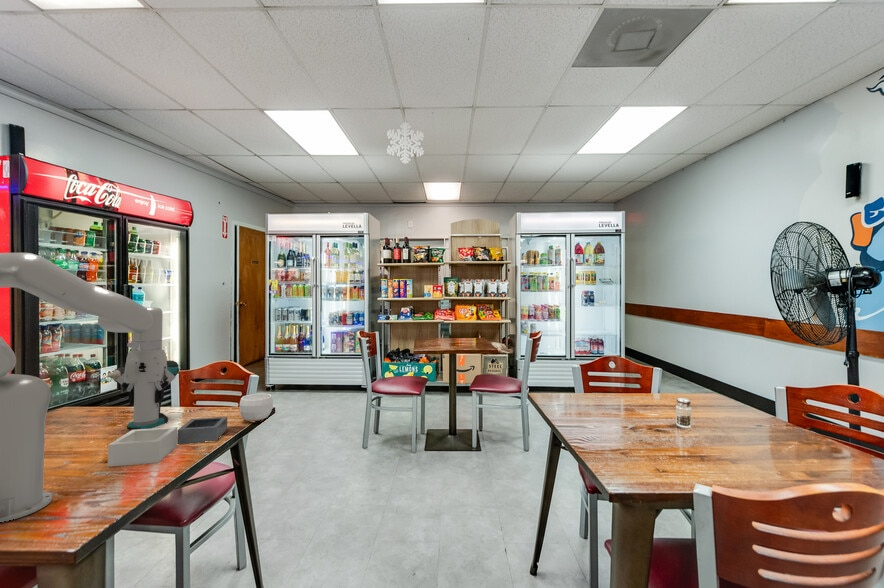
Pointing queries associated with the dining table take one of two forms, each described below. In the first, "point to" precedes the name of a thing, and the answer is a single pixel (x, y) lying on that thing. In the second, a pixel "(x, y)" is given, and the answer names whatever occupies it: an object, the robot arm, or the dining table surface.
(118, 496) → the dining table surface
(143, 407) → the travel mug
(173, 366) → the power drill
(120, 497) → the dining table surface
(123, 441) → the light grey square tray
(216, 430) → the socket block
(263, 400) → the cup
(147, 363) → the robot arm
